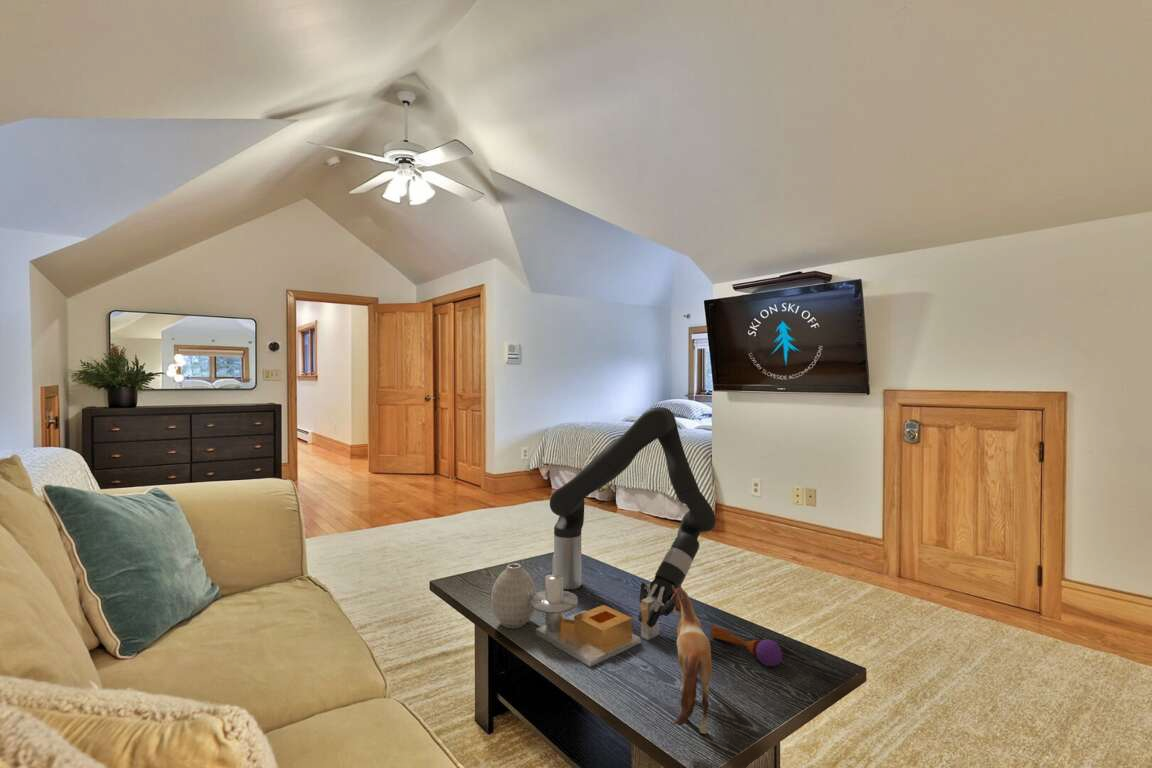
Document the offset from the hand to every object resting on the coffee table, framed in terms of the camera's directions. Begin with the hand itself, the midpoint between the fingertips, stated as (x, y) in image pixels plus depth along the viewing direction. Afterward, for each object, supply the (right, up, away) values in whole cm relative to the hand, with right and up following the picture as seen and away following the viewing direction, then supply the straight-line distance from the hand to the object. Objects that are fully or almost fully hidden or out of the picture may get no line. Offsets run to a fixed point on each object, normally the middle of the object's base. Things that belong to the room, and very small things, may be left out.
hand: (644, 623), depth 146 cm
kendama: (+25, -5, -7) cm, 26 cm away
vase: (-36, -4, +8) cm, 37 cm away
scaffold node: (-18, -4, 0) cm, 18 cm away
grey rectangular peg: (+2, -4, +2) cm, 4 cm away
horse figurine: (+3, -5, -29) cm, 30 cm away
